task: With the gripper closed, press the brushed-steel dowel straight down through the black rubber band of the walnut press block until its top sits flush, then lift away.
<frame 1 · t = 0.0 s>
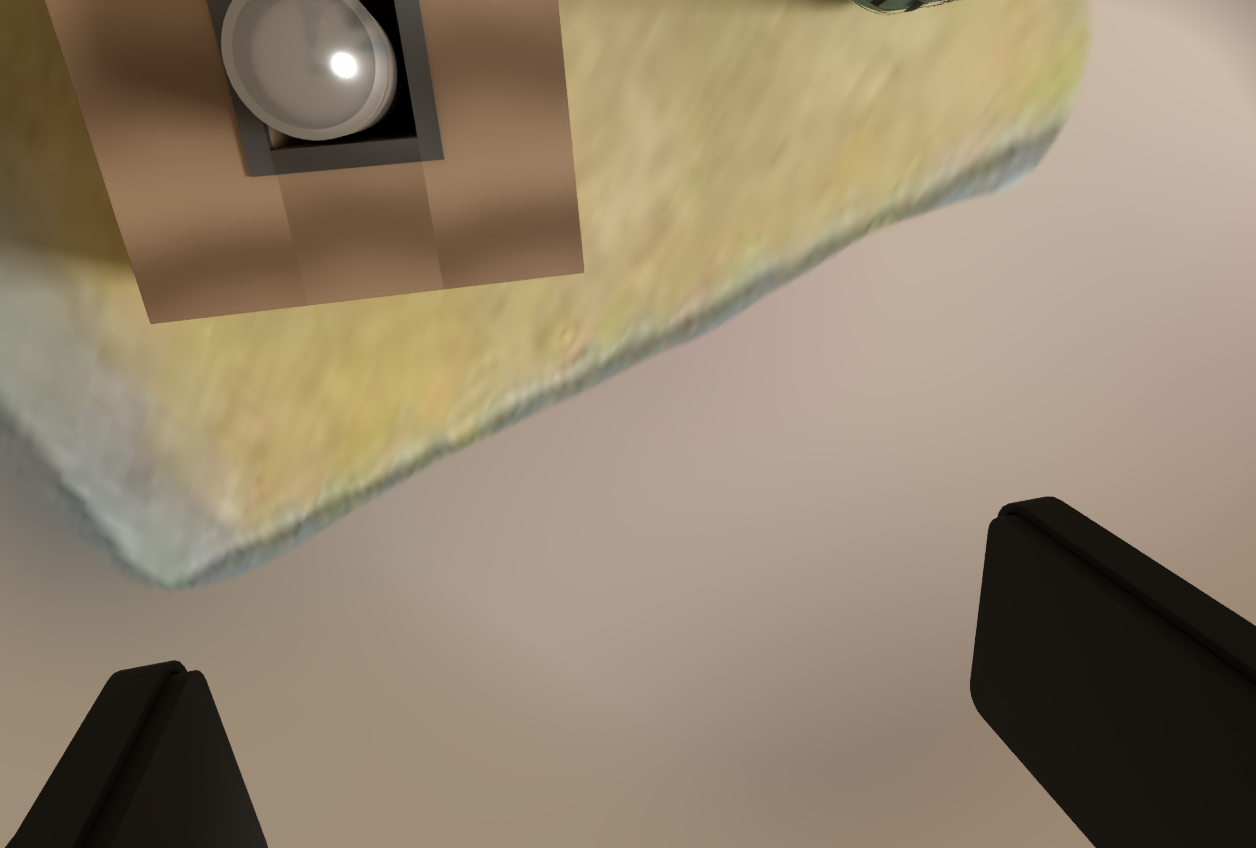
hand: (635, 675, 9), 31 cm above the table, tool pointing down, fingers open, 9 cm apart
steel dowel: (325, 64, 26), point 9 cm above the table, slide at 4.5 cm
press block: (355, 74, 34), on the table
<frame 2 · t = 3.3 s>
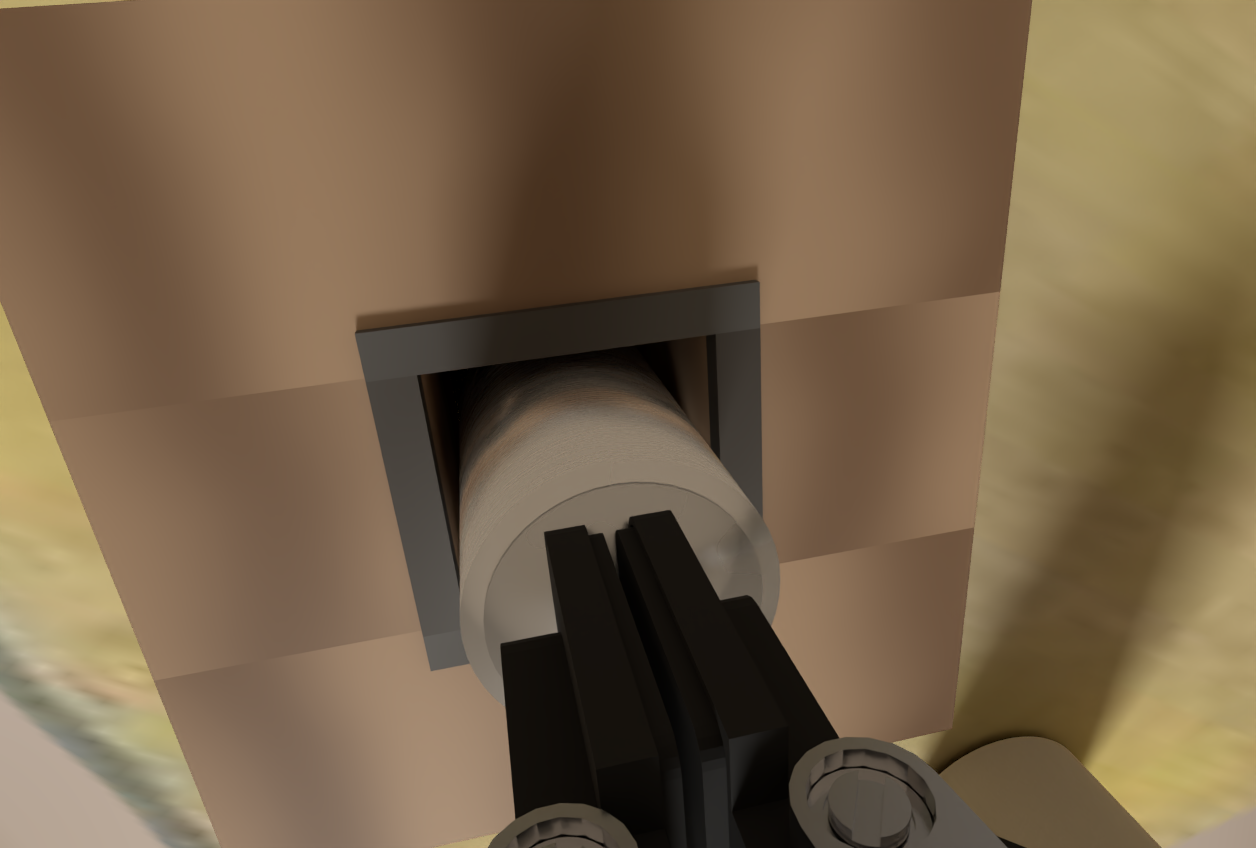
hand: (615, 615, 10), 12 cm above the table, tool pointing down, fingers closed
steel dowel: (584, 484, 14), point 8 cm above the table, slide at 3.7 cm, touching gripper
press block: (541, 354, 21), on the table
travel mug: (985, 801, 32), on the table
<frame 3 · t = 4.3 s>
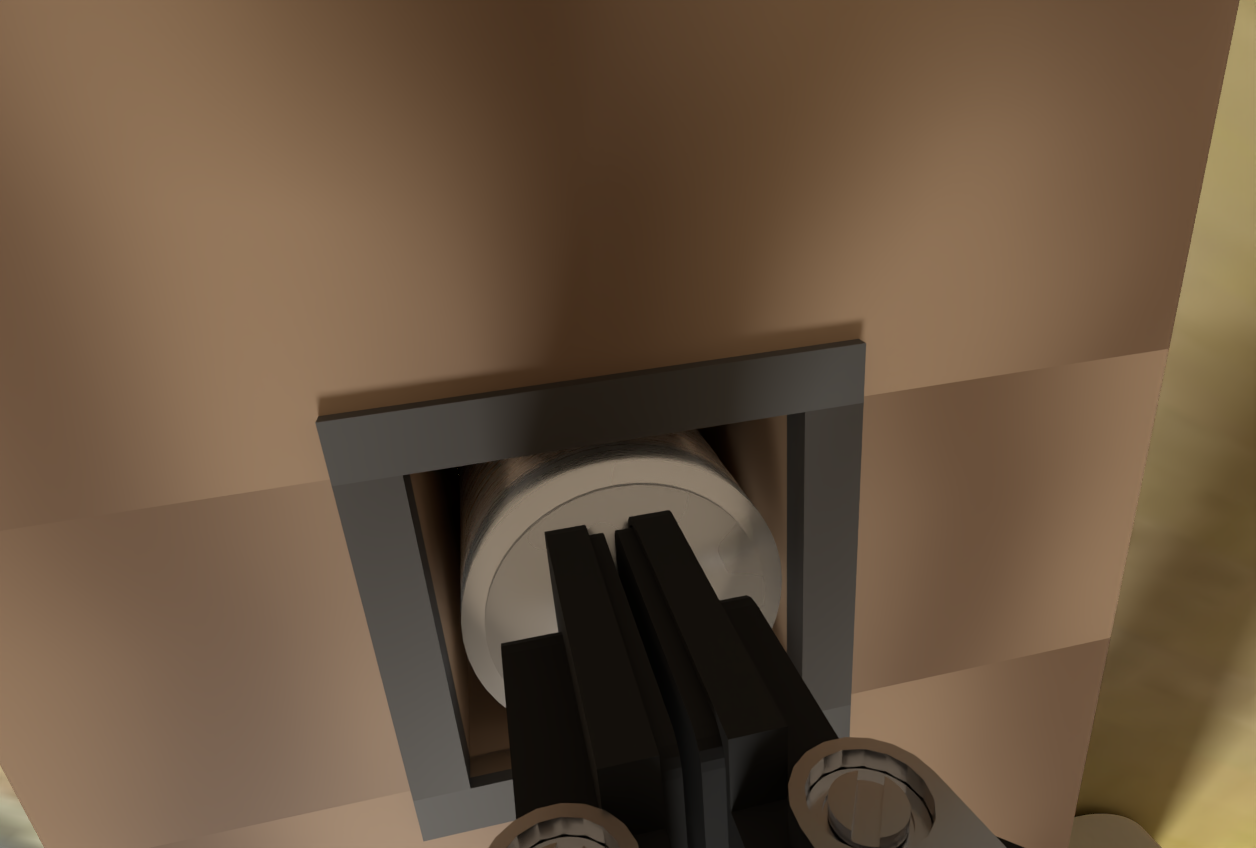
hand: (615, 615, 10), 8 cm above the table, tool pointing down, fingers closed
steel dowel: (585, 485, 14), point 4 cm above the table, slide at 0.0 cm, touching gripper
press block: (557, 401, 18), on the table
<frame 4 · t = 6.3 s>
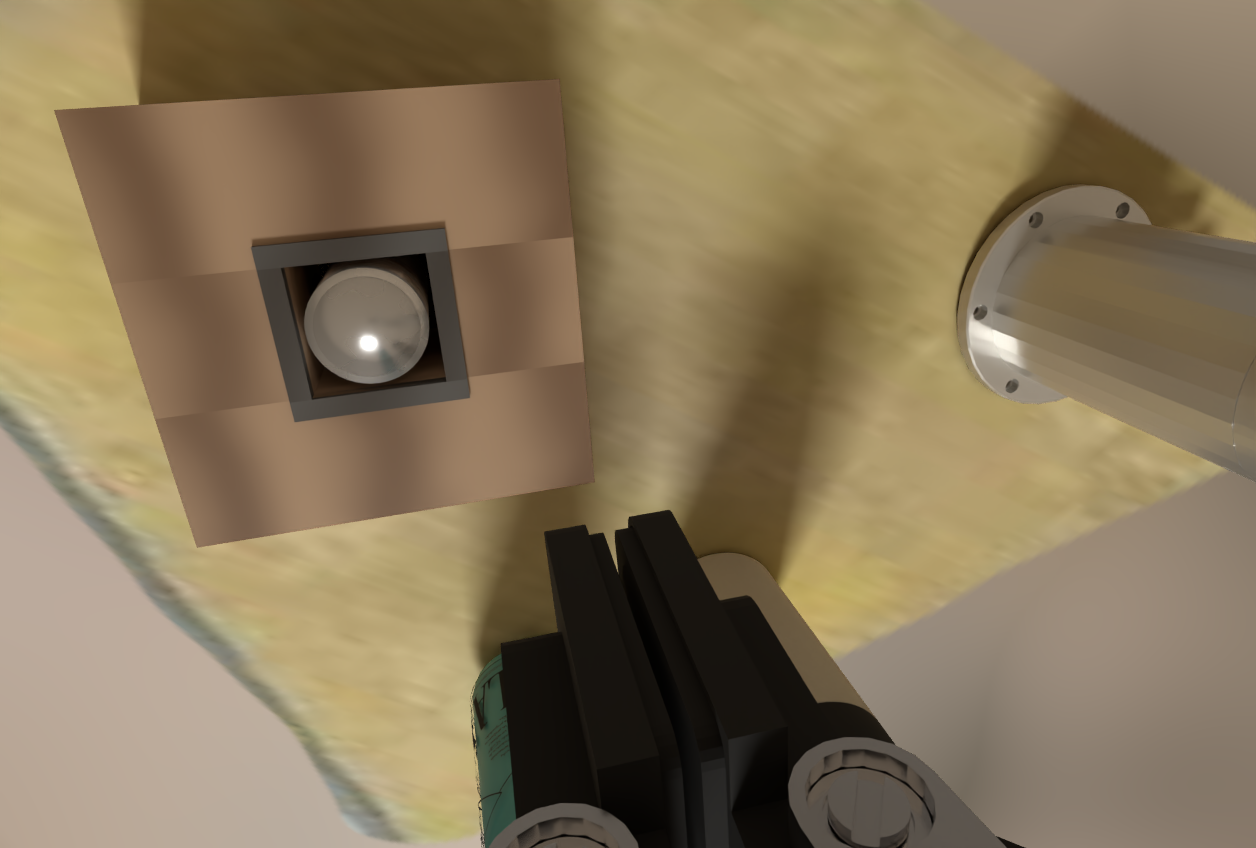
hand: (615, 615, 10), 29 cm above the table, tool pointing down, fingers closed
steel dowel: (373, 303, 32), point 4 cm above the table, slide at 0.0 cm
press block: (379, 282, 36), on the table
beverage bottle: (523, 669, 47), on the table
travel mug: (712, 603, 48), on the table
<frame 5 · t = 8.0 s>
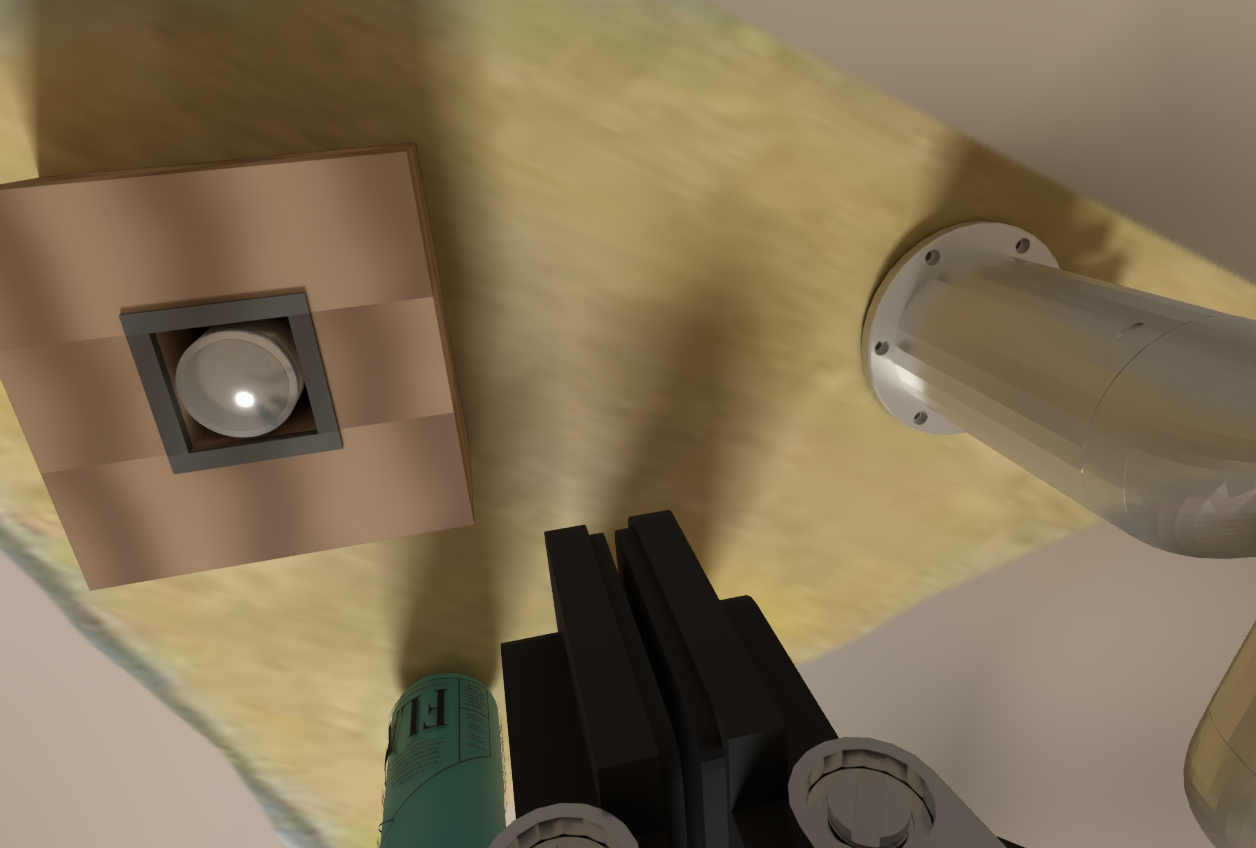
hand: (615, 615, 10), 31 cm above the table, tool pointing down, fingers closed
steel dowel: (259, 357, 34), point 4 cm above the table, slide at 0.0 cm
press block: (279, 331, 38), on the table
beverage bottle: (446, 694, 48), on the table
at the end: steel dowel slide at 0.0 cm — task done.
